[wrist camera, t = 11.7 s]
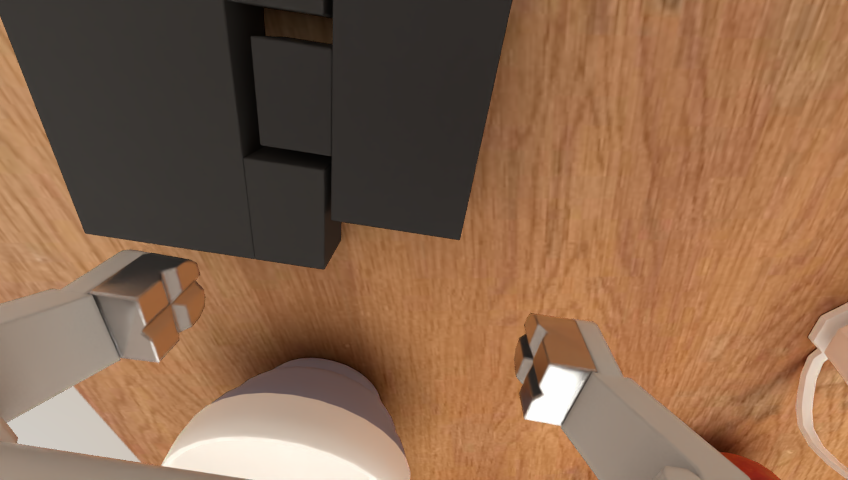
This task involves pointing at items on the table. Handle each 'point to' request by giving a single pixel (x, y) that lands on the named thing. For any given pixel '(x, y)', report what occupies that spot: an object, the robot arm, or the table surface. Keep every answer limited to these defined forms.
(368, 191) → the black stepped block
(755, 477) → the fruit
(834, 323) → the cup
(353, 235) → the table surface
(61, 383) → the robot arm
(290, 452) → the bowl
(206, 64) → the base pad
